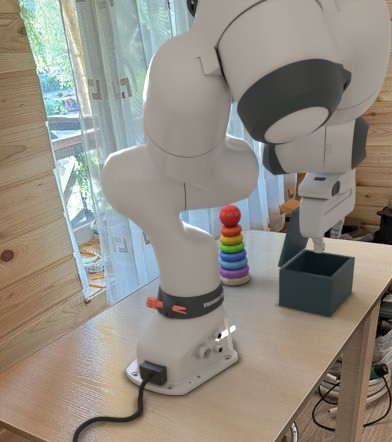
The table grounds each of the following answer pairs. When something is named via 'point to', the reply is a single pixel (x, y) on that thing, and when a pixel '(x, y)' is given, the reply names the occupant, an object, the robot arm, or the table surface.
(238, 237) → the stacking toy
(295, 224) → the lid
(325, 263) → the dark teal box
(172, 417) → the table surface
